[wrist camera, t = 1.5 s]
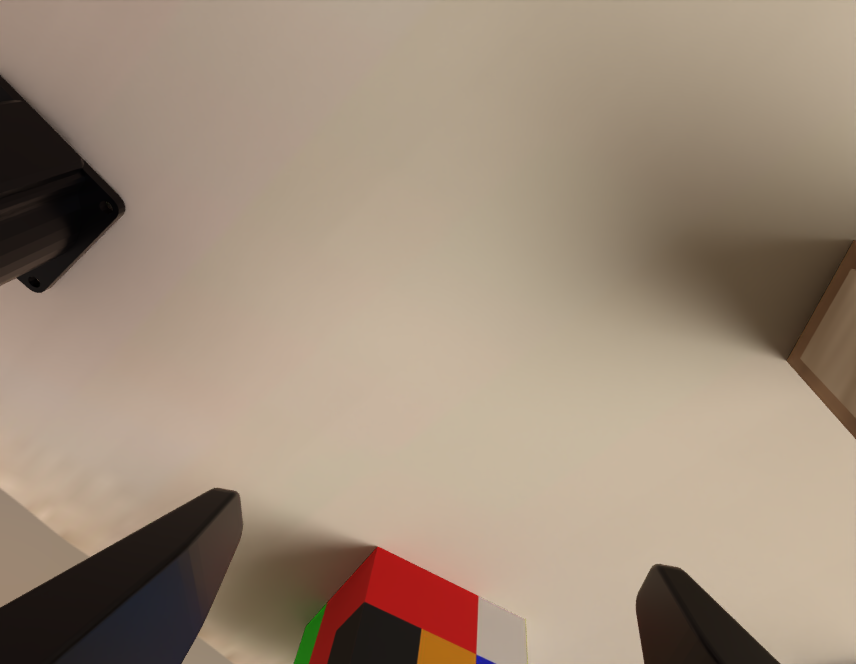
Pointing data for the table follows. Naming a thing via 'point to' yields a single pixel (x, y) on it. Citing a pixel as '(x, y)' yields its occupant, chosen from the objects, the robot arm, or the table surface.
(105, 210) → the robot arm
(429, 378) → the table surface
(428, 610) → the puzzle toy
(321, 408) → the table surface
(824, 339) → the walnut block
